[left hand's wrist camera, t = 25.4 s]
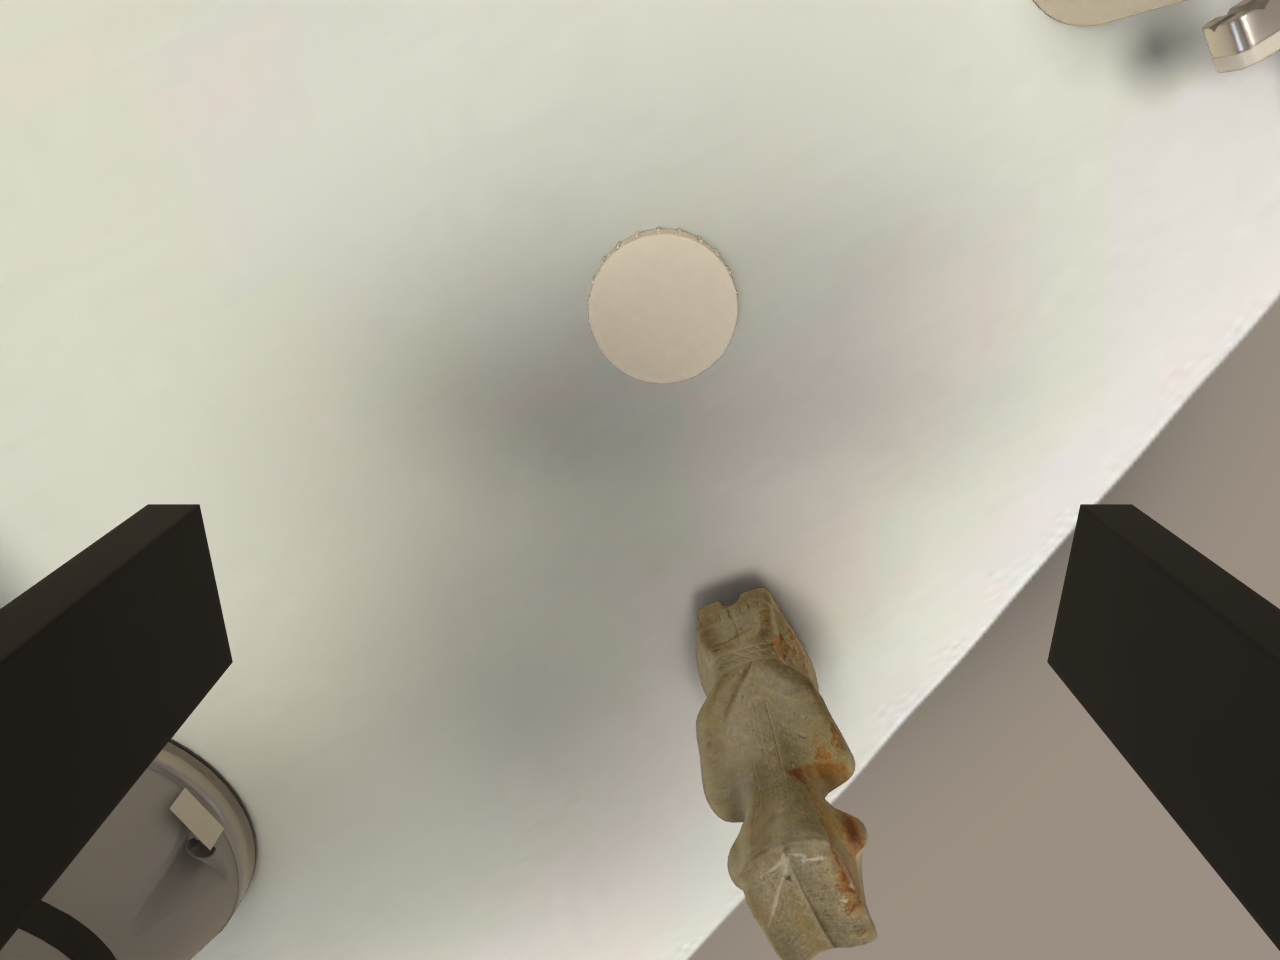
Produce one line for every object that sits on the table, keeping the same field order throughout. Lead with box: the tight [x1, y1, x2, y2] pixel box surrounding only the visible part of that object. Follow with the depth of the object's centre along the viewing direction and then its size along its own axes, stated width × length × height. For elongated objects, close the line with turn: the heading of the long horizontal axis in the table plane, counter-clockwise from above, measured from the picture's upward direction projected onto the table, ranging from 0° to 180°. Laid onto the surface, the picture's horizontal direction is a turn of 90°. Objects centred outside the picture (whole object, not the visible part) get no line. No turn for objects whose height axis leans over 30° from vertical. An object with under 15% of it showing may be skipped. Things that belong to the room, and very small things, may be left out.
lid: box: [587, 227, 738, 384], centre depth 33 cm, size 6×6×2 cm
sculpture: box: [696, 587, 877, 960], centre depth 33 cm, size 6×7×15 cm
